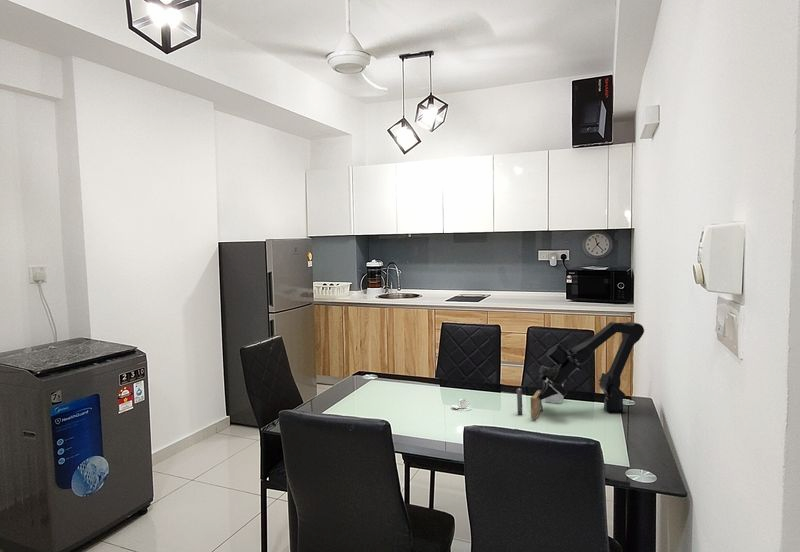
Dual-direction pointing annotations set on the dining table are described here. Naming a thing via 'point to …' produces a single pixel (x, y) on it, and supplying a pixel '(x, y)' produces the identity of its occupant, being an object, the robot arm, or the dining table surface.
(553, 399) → the supplement box
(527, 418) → the dining table surface
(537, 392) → the wooden plank panel
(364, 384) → the dining table surface
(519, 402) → the post
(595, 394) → the dining table surface
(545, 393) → the robot arm
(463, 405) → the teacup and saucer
